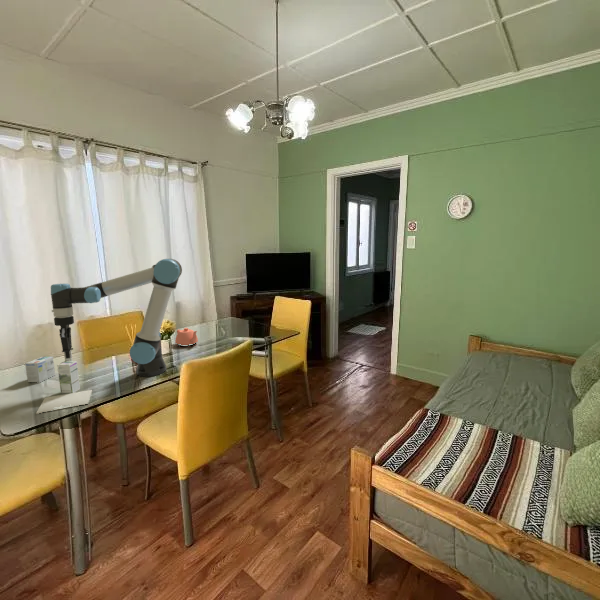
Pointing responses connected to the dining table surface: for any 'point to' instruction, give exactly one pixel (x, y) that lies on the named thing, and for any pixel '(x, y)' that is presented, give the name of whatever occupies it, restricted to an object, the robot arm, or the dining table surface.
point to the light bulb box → (40, 369)
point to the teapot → (186, 337)
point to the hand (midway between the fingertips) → (69, 363)
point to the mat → (65, 400)
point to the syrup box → (68, 377)
